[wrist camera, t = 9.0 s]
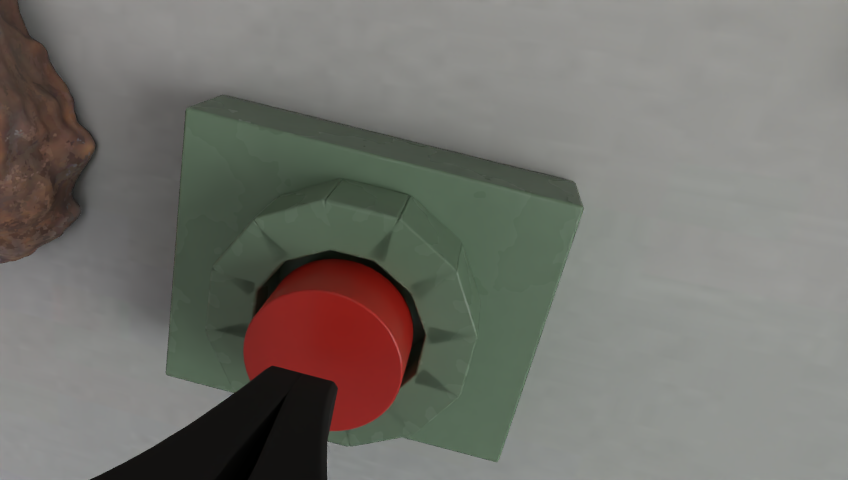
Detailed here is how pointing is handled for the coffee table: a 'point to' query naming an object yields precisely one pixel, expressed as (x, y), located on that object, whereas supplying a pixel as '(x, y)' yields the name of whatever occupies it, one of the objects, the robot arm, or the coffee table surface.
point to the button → (336, 335)
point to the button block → (370, 258)
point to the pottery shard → (35, 143)
